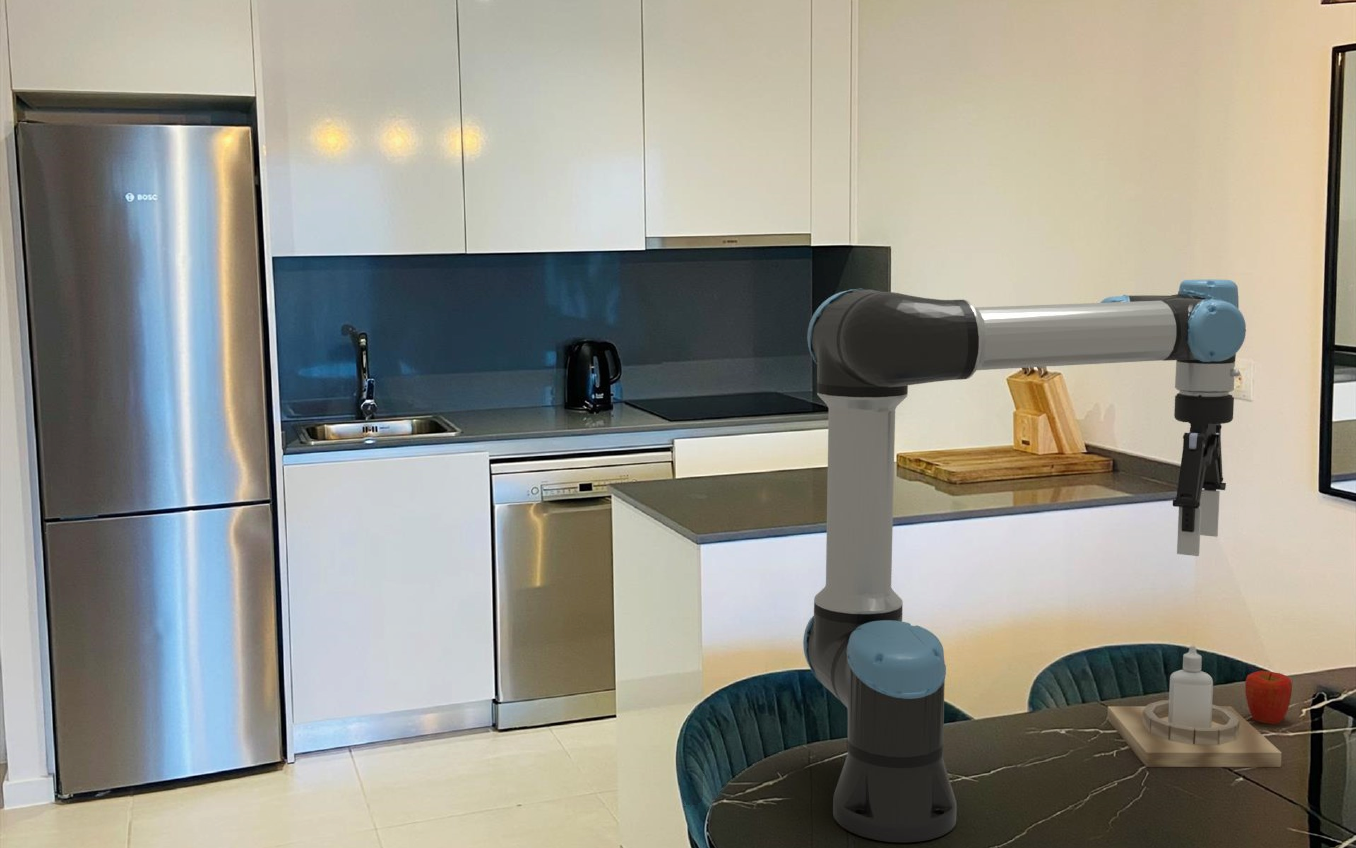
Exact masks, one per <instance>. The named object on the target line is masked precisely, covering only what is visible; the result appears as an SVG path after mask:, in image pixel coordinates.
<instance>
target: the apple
mask: <svg viewBox="0 0 1356 848" xmlns="http://www.w3.org/2000/svg"><path fill="white" fill-rule="evenodd" d="M1244 686H1245V690H1244V693H1245V698H1246V702H1247V706H1248V710H1249V713H1250V716H1251V718H1252V720H1254V721H1255V722H1259V723H1262V724H1271V725H1272V724H1273V725H1275V724H1276V725H1277V724H1279V723H1280V722H1282V721H1283V720H1284V718H1285V717H1286V715H1287V712H1288V710H1289V707H1290V704H1291V703H1290V702H1291V697H1292V691H1293V683H1292V680H1291V679H1290V678H1289V677H1288V676H1287V675H1285V674H1283V673H1280V672H1273V671H1267V670H1258V671H1255V672H1252V673H1250V674H1247V676H1246V679H1245V685H1244Z"/></svg>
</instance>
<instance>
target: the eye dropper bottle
mask: <svg viewBox="0 0 1356 848" xmlns="http://www.w3.org/2000/svg"><path fill="white" fill-rule="evenodd" d="M1182 656H1183V657H1182V669H1179V670H1176V671H1174V672H1172V673H1171V674H1170V677H1169V693H1168V700H1169V713H1168V722H1169V723H1172V724H1176V725H1181V726H1187V727H1193V728H1211V723H1212V704H1213V696H1214V681H1213V678H1212V676H1211V675H1210V674H1208V673H1207V672H1204V671H1202V664H1203V663H1202V661H1203V659H1202V655H1201V654H1199V653H1198V652H1197V647H1196V645H1192V644H1191V645H1190V647H1189V649H1188V652H1186V653H1183V655H1182Z"/></svg>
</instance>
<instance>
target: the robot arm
mask: <svg viewBox="0 0 1356 848" xmlns="http://www.w3.org/2000/svg"><path fill="white" fill-rule="evenodd" d="M1178 288H1179V289H1178V292H1177V294H1176V293H1175V294H1171V295H1157V294H1156V295H1153V294H1152V295H1146V294H1145V295H1144V294H1143V295H1141V294H1140V295H1127V294H1123V295H1119V296H1108V297H1105V298H1104V299H1103V300H1101V301H1100V302H1092V303H1091V302H1089V303H1086V302H1085V303H1064V304H1063V303H1062V304H1060V303H1059V304H1034V305H1007V306H1006V305H1004V306H986V307H985V306H980V307H979V306H978V307H976V306H974V305H973V304H972V303H971V302H970V301H969V300H967V299H937V298H928V297H921V296H915V295H909V294H903V293H899V292H894V291H893V292H892V291H880V290H874V289H866V288H855V289H848V290H844V291H839V292H838V293H834V295H831V296H830V297H828V298H827V299H826V300H824V301H823V302H822V303H821V304H820V305H819V306H818V308H817V309H816V310H815V312H813V315H812V317H811V319H810V321H809V324H808V328H807V346H808V350H809V353H810V355H811V358H812V359H813V362H814V363H815V364H816V368H817V373H816V376H817V377H816V379H817V380H816V393H817V394H816V395H817V396H818V397H819V398H820V399H821V400H822V401H823V403H825V405H826V406H827V408H828V421H827V422H828V423H827V425H828V427H827V428H828V429H827V431H828V432H827V433H828V435H827V480H826V481H827V486H826V487H827V489H826V491H827V492H826V498H827V499H826V500H827V501H826V546H825V547H826V548H825V549H826V552H825V553H826V555H825V557H826V558H825V559H826V560H825V561H826V563H825V586H824V587H823V588H822V589H821V590H820V591H819V592H817V594H815V595H814V599H813V616H812V617H811V618H810V619H809V620H808V623H807V624H806V627H805V630H804V633H803V634H804V635H803V639H802V640H803V641H802V645H803V653H804V657H805V661H806V663H807V664H808V667H809V668H810V671H811V673H812V674H813V676H814V677H815V678H816V679H817V681H818V683H819V684H821V685H823V687H824V688H825V689H827V691H829V692H830V693H831V694H833V696H834V697H835V698H837V699H838V700H839V702H841V703H842V705H843V706H844V707H846V708H847V755H846V757H845V761H844V764H843V767H842V770H841V773H840V776H839V777H838V781H837V784H836V787H835V791H834V792H833V793H834V794H833V797H832V798H833V799H832V801H833V802H832V805H833V806H832V810H833V811H832V814H833V815H832V816H833V818H834V820H835V822H836V823H837V824H839V826H841V828H843V829H845V830H846V831H848V832H850V833H853V834H854V835H857V836H860V837H863V838H866V839H869V840H875V841H879V842H886V843H918V842H924V841H925V842H926V841H930V840H934V839H938V838H940V837H943V836H944V835H947V834H948V833H949V832H951V831H952V830H953V829H954V827H955V826H956V824H957V810H958V809H957V799H956V796H955V793H954V790H953V787H952V784H951V780H950V777H949V774H948V771H947V768H946V764H945V762H944V720H945V719H944V718H945V685H946V684H945V682H946V673H947V665H946V663H945V651H944V647H943V645H942V641H941V640H940V639H939V637H937V636H936V635H935V634H934V633H933V632H932V631H930V630H928V629H927V628H925V627H922V626H919V625H911V623H910V622H906V621H903V599H902V598H901V597H900V596H899V595H898V594H897V593H896V592H895V590H893V588H892V572H893V570H892V568H893V567H892V566H893V565H892V564H893V530H894V529H893V525H894V524H893V521H894V479H895V478H894V477H895V476H894V475H895V440H896V439H895V434H896V409H897V407H898V406H899V405H900V404H901V403H902V402H903V401H904V400H905V399H906V398H907V397H908V390H909V386H912V385H920V384H927V383H928V384H929V383H935V382H936V383H938V382H947V381H956V380H957V381H959V380H960V381H961V380H962V381H963V380H968V379H970V378H971V377H973V375H975V372H977V371H989V370H1004V369H1005V370H1006V369H1023V368H1024V369H1025V368H1044V367H1059V366H1060V367H1062V366H1079V365H1080V366H1081V365H1082V366H1083V365H1084V366H1085V365H1101V364H1115V363H1116V364H1117V363H1118V364H1120V363H1137V362H1138V363H1139V362H1140V363H1141V362H1156V361H1157V362H1158V361H1163V362H1165V361H1167V362H1169V361H1175V379H1174V380H1175V381H1174V383H1175V384H1174V388H1175V389H1176V390H1177V391H1179V392H1178V393H1176V395H1174V410H1173V411H1174V414H1173V416H1174V419H1175V420H1176V421H1178V422H1182V423H1188V424H1190V428H1189V432H1184V433H1183V435H1182V439H1183V440H1182V441H1183V442H1182V453H1181V454H1182V455H1181V460H1180V468H1179V469H1180V470H1179V476H1178V483H1177V491H1176V497H1175V499H1172V506H1173V507H1175V508H1176V507H1177V508H1178V520H1177V524H1178V525H1177V542H1176V543H1177V544H1176V545H1177V546H1176V554H1177V555H1184V556H1185V555H1186V556H1194V557H1199V556H1200V546H1201V545H1200V543H1201V542H1200V541H1201V536H1206V537H1215V538H1217V537H1218V536H1219V535H1218V534H1219V514H1220V513H1219V512H1220V494H1221V493H1220V491H1226V488H1227V483H1226V482H1224V477H1223V459H1222V437H1221V435H1222V433H1221V432H1222V428H1223V427H1222V425H1223V424H1228V423H1231V422H1232V421H1233V420H1234V407H1235V397H1234V396H1233V395H1232V394H1230V393H1231V392H1233V391H1234V390H1235V377H1236V378H1237V377H1239V376H1240V374H1241V372H1240V370H1239V369H1234V368H1235V366H1236V356H1237V353H1238V352H1239V351H1240V349H1241V348H1242V346H1243V344H1244V342H1245V340H1246V333H1247V329H1246V327H1247V325H1246V324H1247V323H1246V319H1245V317H1244V315H1243V313H1242V311H1241V310H1240V309H1239V308H1240V307H1239V302H1240V301H1239V291H1238V290H1239V289H1238V288H1239V286H1238V285H1237V284H1236V282H1235V281H1233V280H1230V279H1210V278H1209V279H1207V278H1206V279H1184V280H1182V281H1181V282H1180V284H1179V287H1178Z"/></svg>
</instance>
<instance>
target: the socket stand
mask: <svg viewBox="0 0 1356 848" xmlns="http://www.w3.org/2000/svg"><path fill="white" fill-rule="evenodd" d="M1168 713H1169V699H1165V700H1164V699H1162V700H1157V701H1154V702H1151V703H1148V704H1147V705H1146V706H1143V705H1142V706H1141V705H1140V706H1138V705H1137V706H1136V705H1135V706H1132V705H1130V706H1129V705H1127V706H1124V705H1123V706H1122V705H1120V706H1118V705H1115V706H1113V705H1112V706H1109V705H1108V706H1107V718H1106V719H1107V721H1108V722H1109V724H1110V725H1111V726H1112V727H1113V728H1114V729H1115V731H1117V733H1118V734H1119V736H1120V737H1121V738H1122V739H1123V740H1124V742H1125V743H1126V744H1127V745H1128V747H1129V748H1130V749H1131V751H1133V752H1134V754H1135V755H1136V757H1138V759H1139V760H1140V761H1141V762H1142V764H1143V765H1144V766H1145V767H1147V768H1148V767H1149V768H1153V767H1154V768H1156V767H1157V768H1158V767H1159V768H1160V767H1162V768H1165V767H1166V768H1167V767H1169V768H1170V767H1171V768H1174V767H1176V768H1177V767H1178V768H1179V767H1180V768H1181V767H1183V768H1185V767H1186V768H1187V767H1188V768H1193V767H1194V768H1199V767H1201V768H1205V767H1206V768H1209V767H1210V768H1215V767H1216V768H1269V767H1270V768H1281V767H1282V753H1283V752H1282V751H1280V749H1278V748H1277V747H1276V746H1275V745H1274V744H1273V743H1272V742H1271V741H1270V740H1269V739H1267V738H1266V737H1265V736H1264V735H1263V734H1262V733H1261V732H1260V731H1258V730H1257V729H1256V728H1255V727H1254V726H1253V725H1252V724H1250V723H1249V722H1248V721H1247V720H1246V718H1244V717H1243V716H1242V715H1241V714H1240V713H1238V711H1236V710H1235V709H1234V708H1233V707H1232V706H1226V705H1224V706H1221V705H1220V706H1219V705H1216V704H1213V703H1212V723H1211V728H1193V727H1187V726H1181V725H1176V724H1172V723H1169V722H1168Z"/></svg>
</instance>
